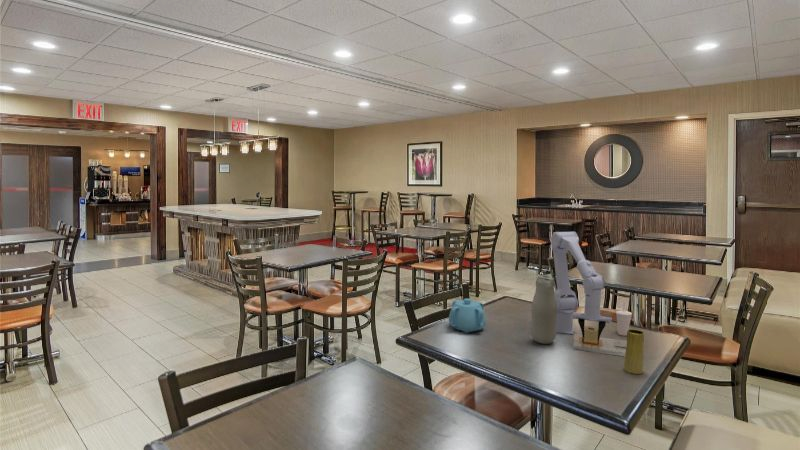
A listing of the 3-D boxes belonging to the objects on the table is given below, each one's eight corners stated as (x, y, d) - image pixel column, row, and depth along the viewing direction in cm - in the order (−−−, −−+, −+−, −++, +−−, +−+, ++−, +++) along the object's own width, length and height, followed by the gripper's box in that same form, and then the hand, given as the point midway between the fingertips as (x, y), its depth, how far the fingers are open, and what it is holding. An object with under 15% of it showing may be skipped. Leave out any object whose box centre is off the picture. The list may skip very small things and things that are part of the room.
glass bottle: (556, 340, 187) (560, 274, 184) (554, 348, 178) (557, 279, 175) (532, 336, 191) (535, 272, 188) (528, 344, 182) (531, 277, 179)
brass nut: (583, 344, 181) (584, 329, 180) (583, 339, 185) (584, 325, 185) (597, 345, 179) (598, 331, 178) (597, 341, 184) (597, 327, 183)
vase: (620, 367, 161) (622, 328, 160) (636, 366, 162) (638, 328, 160) (630, 374, 155) (632, 334, 154) (646, 374, 156) (649, 334, 154)
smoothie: (627, 331, 199) (629, 301, 197) (633, 337, 192) (635, 305, 191) (612, 331, 199) (614, 300, 198) (617, 336, 193) (619, 304, 191)
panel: (573, 349, 178) (573, 345, 178) (574, 337, 191) (574, 333, 191) (642, 359, 169) (643, 355, 169) (639, 345, 182) (639, 342, 182)
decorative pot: (487, 325, 206) (488, 296, 205) (483, 336, 191) (483, 305, 190) (452, 321, 211) (453, 293, 210) (445, 332, 196) (446, 302, 195)
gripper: (572, 305, 180) (571, 338, 181) (612, 310, 174) (610, 344, 176) (573, 301, 186) (571, 333, 188) (612, 305, 181) (610, 338, 182)
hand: (590, 338), depth 182 cm, fingers closed on brass nut, 5 cm apart
